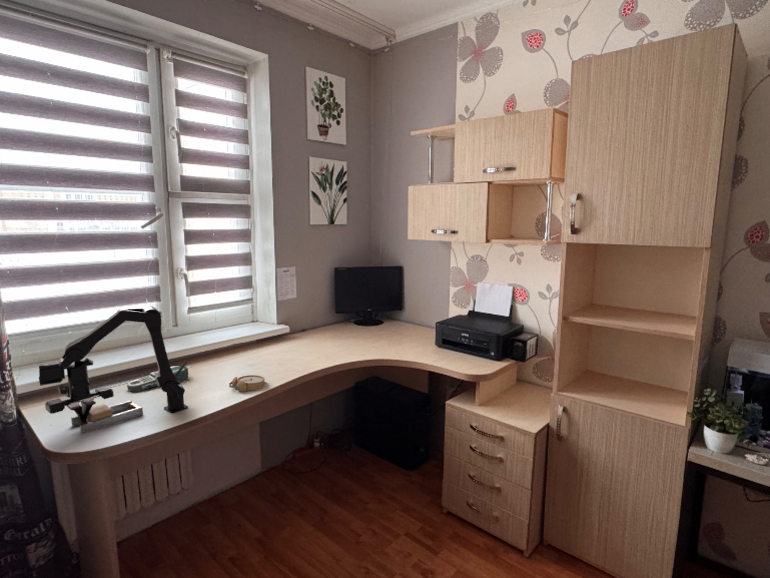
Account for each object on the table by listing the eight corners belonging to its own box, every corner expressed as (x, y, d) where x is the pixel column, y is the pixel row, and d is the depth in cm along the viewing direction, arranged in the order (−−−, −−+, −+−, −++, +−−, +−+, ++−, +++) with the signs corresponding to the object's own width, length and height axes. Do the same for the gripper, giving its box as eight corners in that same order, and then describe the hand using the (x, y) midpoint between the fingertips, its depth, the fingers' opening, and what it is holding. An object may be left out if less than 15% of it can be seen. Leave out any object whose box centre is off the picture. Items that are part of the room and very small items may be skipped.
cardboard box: (113, 422, 160) (112, 409, 159) (93, 428, 155) (92, 414, 154) (105, 416, 164) (104, 403, 164) (86, 422, 160) (84, 409, 159)
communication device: (122, 388, 193) (120, 368, 192) (179, 374, 211) (177, 355, 209) (132, 395, 185) (130, 375, 184) (190, 380, 202) (189, 361, 201)
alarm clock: (269, 380, 194) (235, 382, 184) (268, 392, 194) (234, 394, 184) (258, 373, 202) (225, 375, 193) (257, 384, 202) (224, 386, 193)
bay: (143, 415, 166) (142, 407, 166) (82, 434, 151) (81, 425, 151) (131, 407, 173) (130, 400, 172) (71, 425, 158) (71, 417, 157)
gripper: (100, 367, 165) (104, 407, 168) (37, 381, 151) (43, 425, 154) (112, 373, 158) (116, 416, 161) (47, 389, 144) (53, 435, 147)
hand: (83, 422), depth 156 cm, fingers closed
